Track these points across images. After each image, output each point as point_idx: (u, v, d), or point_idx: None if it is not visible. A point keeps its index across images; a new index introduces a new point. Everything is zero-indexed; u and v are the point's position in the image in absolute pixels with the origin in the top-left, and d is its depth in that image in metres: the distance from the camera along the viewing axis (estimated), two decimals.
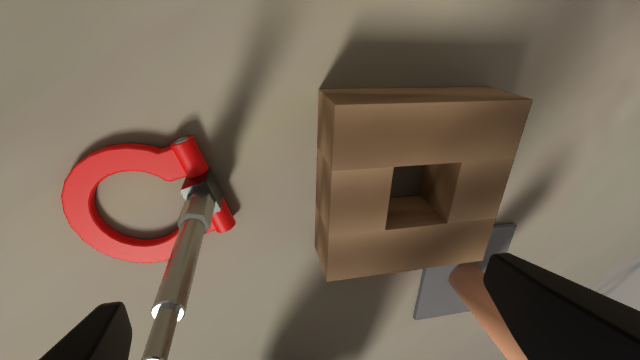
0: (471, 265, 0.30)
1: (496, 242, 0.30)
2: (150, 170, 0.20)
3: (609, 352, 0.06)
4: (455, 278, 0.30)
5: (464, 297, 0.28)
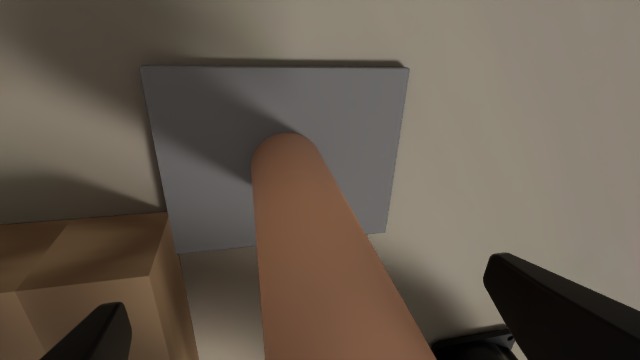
0: (251, 168, 0.13)
1: (194, 111, 0.12)
2: None
3: (609, 352, 0.06)
4: None
5: None
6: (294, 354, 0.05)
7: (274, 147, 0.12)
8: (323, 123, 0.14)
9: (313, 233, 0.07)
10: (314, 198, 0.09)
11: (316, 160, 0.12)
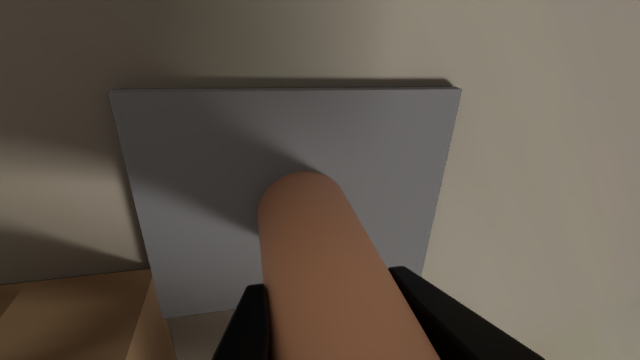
0: (258, 217, 0.10)
1: (183, 147, 0.09)
2: None
3: None
4: None
5: None
6: None
7: (290, 195, 0.09)
8: (350, 159, 0.11)
9: None
10: (359, 301, 0.06)
11: (347, 217, 0.09)
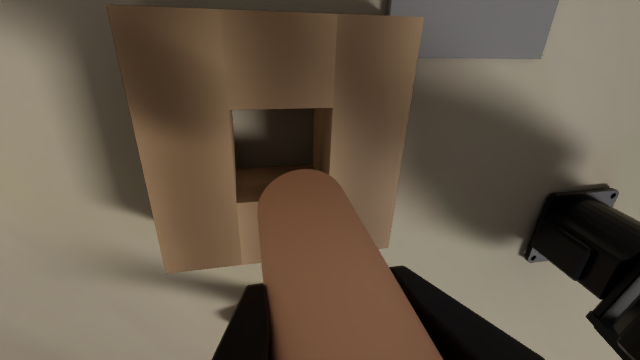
0: (258, 215, 0.10)
1: None
2: None
3: None
4: None
5: None
6: None
7: (290, 193, 0.09)
8: None
9: None
10: (360, 297, 0.06)
11: (348, 214, 0.08)
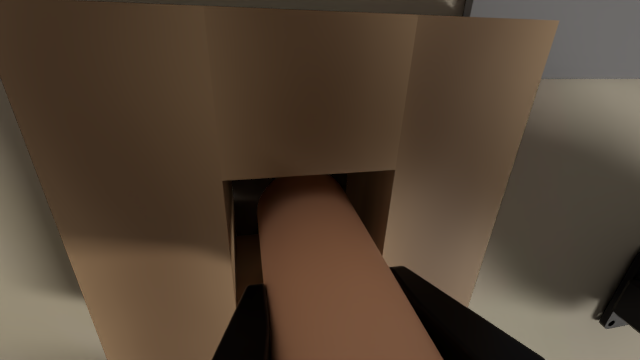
0: (258, 215, 0.10)
1: None
2: None
3: None
4: None
5: None
6: None
7: (290, 193, 0.09)
8: None
9: None
10: (360, 297, 0.06)
11: (348, 214, 0.08)
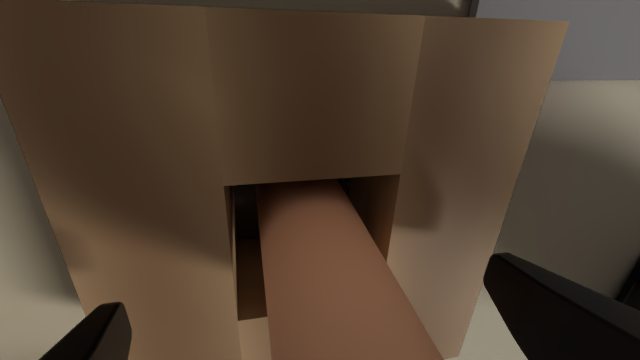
0: (256, 187, 0.12)
1: None
2: None
3: (609, 352, 0.06)
4: None
5: None
6: None
7: None
8: None
9: (336, 286, 0.06)
10: (333, 234, 0.07)
11: (330, 181, 0.10)
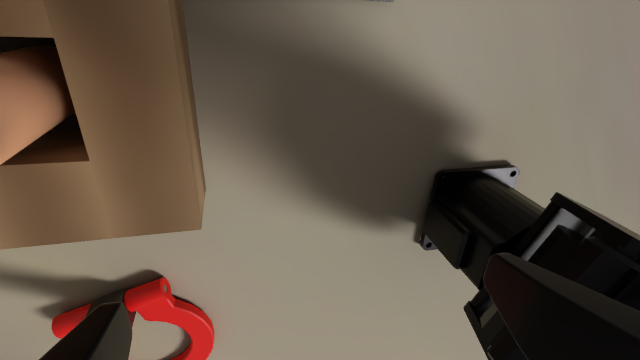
0: None
1: None
2: None
3: (609, 352, 0.06)
4: None
5: None
6: None
7: None
8: None
9: None
10: None
11: (33, 58, 0.12)
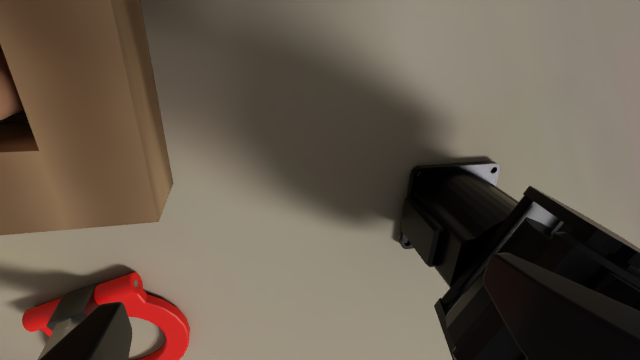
0: None
1: None
2: None
3: (609, 352, 0.06)
4: None
5: None
6: None
7: None
8: None
9: None
10: None
11: None
